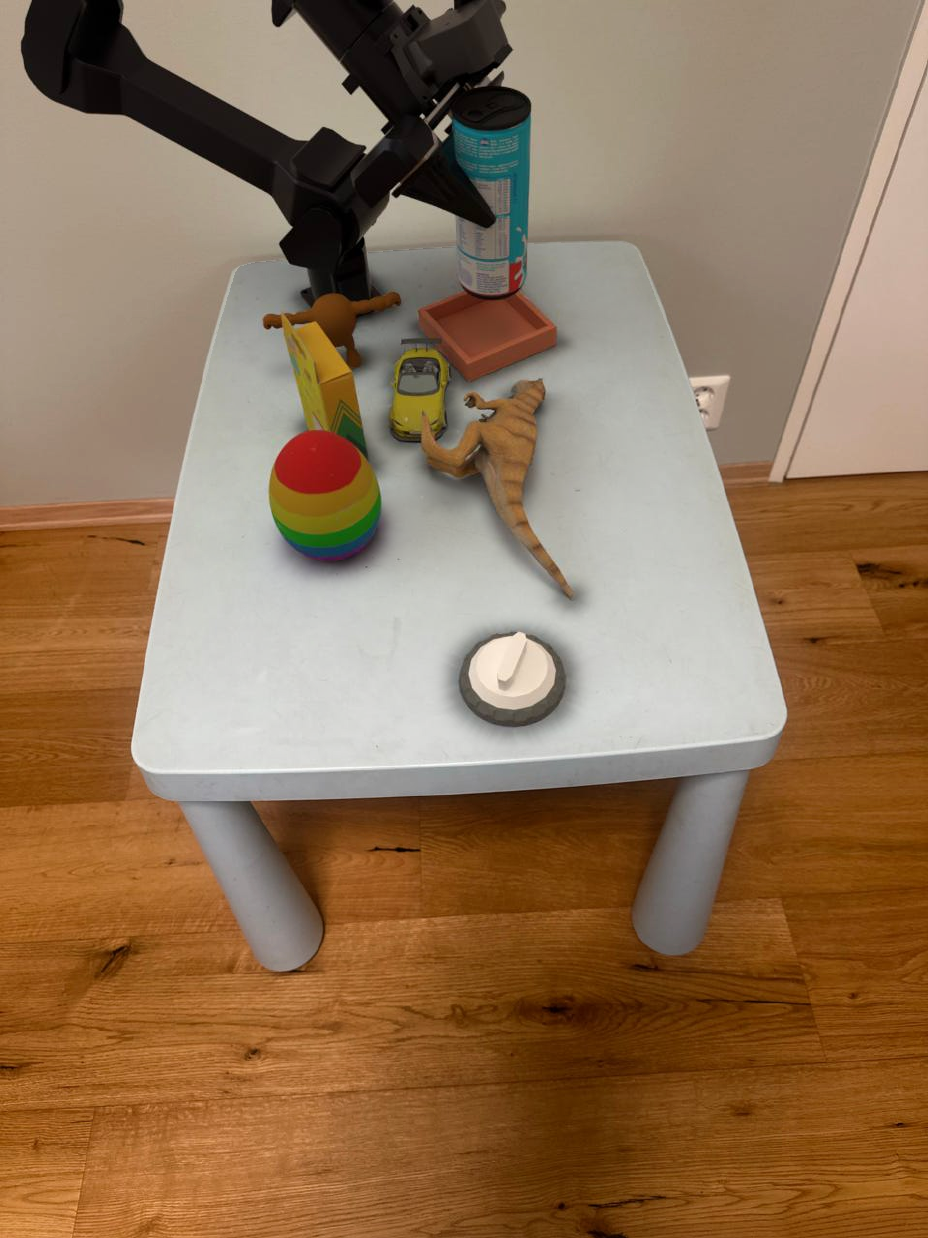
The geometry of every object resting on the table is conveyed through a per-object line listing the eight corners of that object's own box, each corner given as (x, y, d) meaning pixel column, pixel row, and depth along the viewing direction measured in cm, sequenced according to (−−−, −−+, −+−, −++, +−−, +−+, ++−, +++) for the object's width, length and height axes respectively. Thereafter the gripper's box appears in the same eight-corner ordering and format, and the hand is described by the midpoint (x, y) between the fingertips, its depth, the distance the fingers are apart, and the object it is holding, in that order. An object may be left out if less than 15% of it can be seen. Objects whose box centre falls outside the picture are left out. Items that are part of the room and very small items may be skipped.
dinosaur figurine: (437, 391, 81) (573, 394, 80) (411, 596, 69) (573, 602, 68) (433, 327, 76) (579, 330, 75) (404, 537, 63) (579, 543, 62)
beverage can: (539, 288, 80) (547, 110, 68) (480, 312, 78) (477, 133, 66) (503, 254, 83) (504, 77, 71) (445, 276, 81) (436, 99, 69)
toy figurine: (404, 338, 86) (395, 273, 80) (411, 363, 84) (403, 298, 78) (275, 361, 85) (257, 297, 79) (279, 388, 83) (261, 324, 77)
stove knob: (442, 707, 63) (440, 684, 60) (481, 624, 67) (479, 599, 64) (546, 739, 61) (547, 717, 59) (579, 652, 65) (581, 628, 63)
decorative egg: (286, 584, 70) (254, 492, 62) (278, 505, 74) (248, 410, 66) (393, 564, 70) (376, 471, 62) (379, 487, 75) (361, 391, 67)
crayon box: (372, 467, 76) (350, 352, 67) (338, 480, 76) (312, 366, 66) (337, 413, 80) (312, 297, 71) (305, 426, 80) (276, 310, 70)
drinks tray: (419, 327, 87) (417, 308, 85) (503, 293, 89) (503, 274, 87) (468, 382, 82) (467, 364, 80) (556, 344, 84) (557, 326, 82)
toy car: (386, 442, 78) (382, 415, 75) (396, 364, 84) (392, 336, 81) (447, 442, 78) (444, 414, 75) (452, 363, 83) (450, 335, 81)
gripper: (369, 11, 57) (533, 214, 63) (487, -100, 67) (619, 86, 73) (283, 119, 65) (435, 289, 72) (398, 7, 75) (523, 165, 81)
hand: (507, 203), depth 74 cm, fingers closed on beverage can, 6 cm apart
